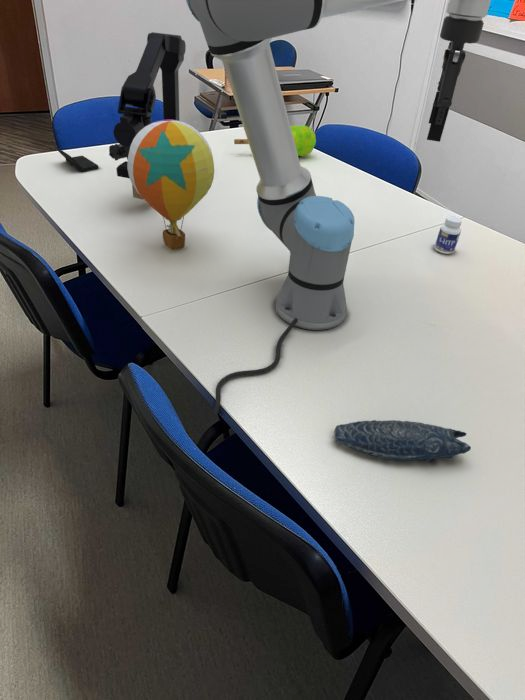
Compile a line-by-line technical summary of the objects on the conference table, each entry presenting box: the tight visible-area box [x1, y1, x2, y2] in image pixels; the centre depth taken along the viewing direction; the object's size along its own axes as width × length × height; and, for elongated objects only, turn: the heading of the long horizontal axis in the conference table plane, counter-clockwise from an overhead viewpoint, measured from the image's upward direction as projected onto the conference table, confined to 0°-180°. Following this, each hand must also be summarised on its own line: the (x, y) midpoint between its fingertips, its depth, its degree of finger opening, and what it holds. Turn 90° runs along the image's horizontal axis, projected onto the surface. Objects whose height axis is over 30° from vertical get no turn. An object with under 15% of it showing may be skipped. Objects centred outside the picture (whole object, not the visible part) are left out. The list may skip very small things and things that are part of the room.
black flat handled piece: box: [53, 145, 99, 172], centre depth 166 cm, size 12×7×10 cm
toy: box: [127, 119, 215, 251], centre depth 121 cm, size 20×20×30 cm
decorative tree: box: [233, 125, 317, 157], centre depth 187 cm, size 18×10×30 cm
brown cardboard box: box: [131, 184, 144, 200], centre depth 145 cm, size 5×5×4 cm
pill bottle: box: [434, 215, 463, 255], centre depth 137 cm, size 5×5×9 cm
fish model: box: [333, 419, 472, 462], centre depth 82 cm, size 7×21×5 cm, turn 84°
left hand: (145, 192), depth 145 cm, fingers closed on brown cardboard box, 5 cm apart
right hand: (433, 131), depth 113 cm, fingers open, 13 cm apart
